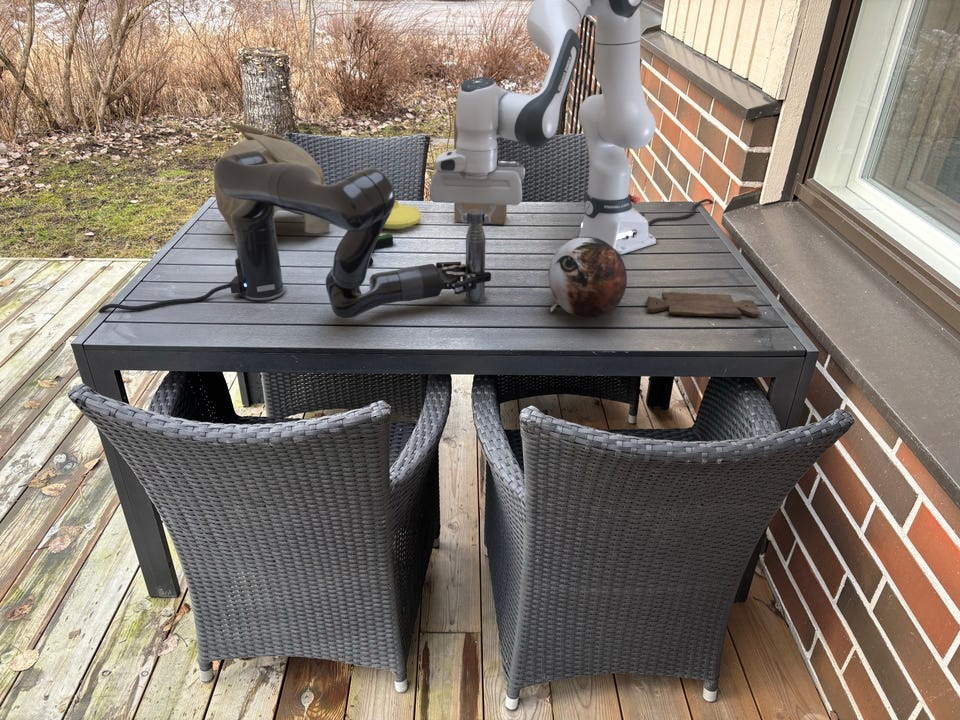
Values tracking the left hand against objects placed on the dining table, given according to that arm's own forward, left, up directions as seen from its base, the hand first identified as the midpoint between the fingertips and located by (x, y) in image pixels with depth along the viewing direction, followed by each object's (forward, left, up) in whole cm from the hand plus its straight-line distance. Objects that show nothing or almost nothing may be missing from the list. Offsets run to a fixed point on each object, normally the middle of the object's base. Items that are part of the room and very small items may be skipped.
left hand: (485, 272), depth 167 cm
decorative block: (-3, +54, -7) cm, 54 cm away
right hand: (-2, -1, +13) cm, 13 cm away
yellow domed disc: (-28, +47, -7) cm, 56 cm away
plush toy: (+23, -6, -7) cm, 25 cm away
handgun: (-32, +24, -7) cm, 40 cm away
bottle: (-2, -1, -7) cm, 7 cm away
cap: (-2, -1, +15) cm, 15 cm away
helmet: (-61, +39, -7) cm, 73 cm away
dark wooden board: (+51, -2, -7) cm, 51 cm away
